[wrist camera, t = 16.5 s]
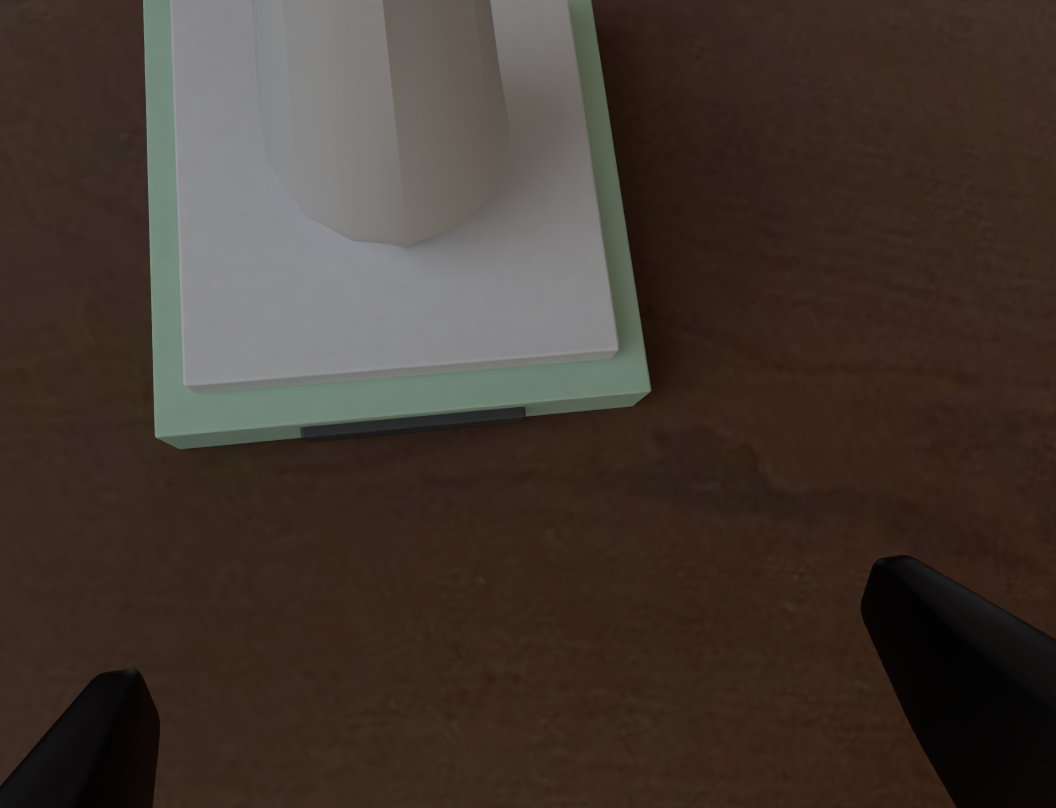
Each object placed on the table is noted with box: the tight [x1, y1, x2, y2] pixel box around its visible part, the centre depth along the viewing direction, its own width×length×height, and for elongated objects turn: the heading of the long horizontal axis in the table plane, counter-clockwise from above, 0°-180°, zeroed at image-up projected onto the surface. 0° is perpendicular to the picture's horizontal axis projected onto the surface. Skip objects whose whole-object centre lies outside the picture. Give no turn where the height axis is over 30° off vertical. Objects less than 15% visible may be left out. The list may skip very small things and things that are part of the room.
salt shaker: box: [251, 0, 511, 248], centre depth 15 cm, size 6×6×13 cm
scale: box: [143, 0, 651, 449], centre depth 22 cm, size 13×13×3 cm
